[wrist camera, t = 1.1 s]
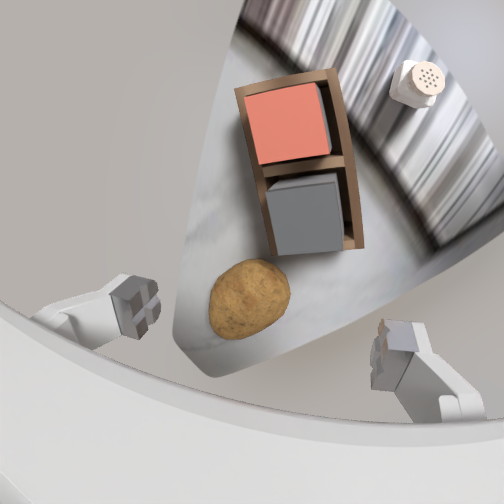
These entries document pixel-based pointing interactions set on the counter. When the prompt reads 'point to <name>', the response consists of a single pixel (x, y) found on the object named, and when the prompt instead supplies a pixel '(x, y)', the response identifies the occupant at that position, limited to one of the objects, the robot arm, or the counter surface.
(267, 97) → the red and grey cube
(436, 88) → the pepper shaker
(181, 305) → the counter surface
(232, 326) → the potato
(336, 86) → the wooden divided tray
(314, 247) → the grey cube
